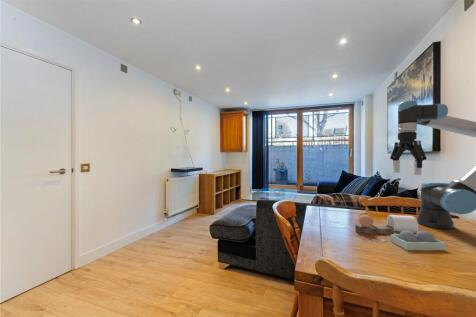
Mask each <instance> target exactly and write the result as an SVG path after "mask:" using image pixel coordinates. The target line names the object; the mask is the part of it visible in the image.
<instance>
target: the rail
mask: <svg viewBox="0 0 476 317" xmlns="http://www.w3.org/2000/svg"><path fill="white" fill-rule="evenodd" d="M354 229H355V233H357V234H358V235H362V234H364V235H365V234H366V235H378V234H379V235H391V234H394V232H395V231H394V227H391V226H389V225H387V224H386V225H374V224H373V225H372V226H371V227H368V228H366V227H363V226H362V225H358V224H355V228H354Z"/></svg>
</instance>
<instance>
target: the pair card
mask: <svg viewBox="0 0 476 317" xmlns="http://www.w3.org/2000/svg"><path fill="white" fill-rule="evenodd" d="M366 240H368V241H369V242H370V243H372V244H373V245H375V242H376V243H378V242H379V240H378V239H375V238H371V239H370V240H369V239H368V238H366ZM380 241H381V242H384V243H387V242H388V240H387V239H383V238H381V239H380Z"/></svg>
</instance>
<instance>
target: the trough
mask: <svg viewBox="0 0 476 317" xmlns="http://www.w3.org/2000/svg"><path fill="white" fill-rule="evenodd" d="M390 242H391V243H393V244H394V245H397V246H398V247H400V248H402V249H403V250H405V251H446V242H444V241H441V240H440V239H437V238H435V242H418V241H417V242H406V241H404V240H402V239H400V238H399V234H397V233H396V234H390Z"/></svg>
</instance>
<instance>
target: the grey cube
mask: <svg viewBox="0 0 476 317" xmlns="http://www.w3.org/2000/svg"><path fill="white" fill-rule="evenodd" d="M398 235H399V238H400V239H402V240H404V241H406V242H417V237H416V234H415V233H413V232H411V231H402V232H399V234H398Z"/></svg>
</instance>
